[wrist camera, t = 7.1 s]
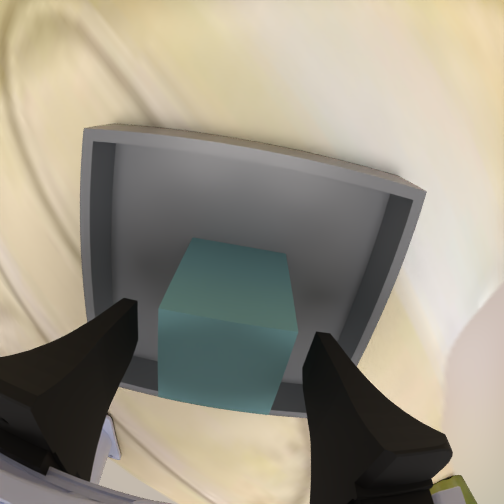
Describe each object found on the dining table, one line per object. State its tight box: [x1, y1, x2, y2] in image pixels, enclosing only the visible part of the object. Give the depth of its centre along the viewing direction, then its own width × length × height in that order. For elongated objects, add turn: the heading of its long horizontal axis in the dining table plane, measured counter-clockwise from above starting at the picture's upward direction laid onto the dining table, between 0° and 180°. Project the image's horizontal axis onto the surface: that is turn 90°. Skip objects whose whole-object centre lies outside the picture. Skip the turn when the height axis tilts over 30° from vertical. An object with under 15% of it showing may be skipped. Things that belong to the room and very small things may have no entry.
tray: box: [80, 124, 427, 418], centre depth 16 cm, size 14×14×3 cm
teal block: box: [158, 237, 298, 415], centre depth 14 cm, size 4×4×6 cm
